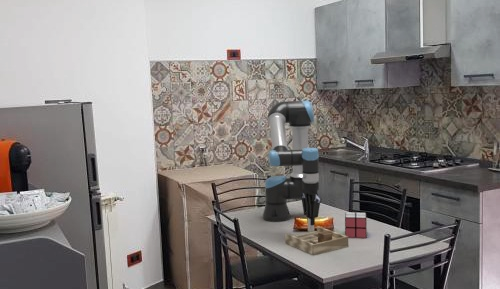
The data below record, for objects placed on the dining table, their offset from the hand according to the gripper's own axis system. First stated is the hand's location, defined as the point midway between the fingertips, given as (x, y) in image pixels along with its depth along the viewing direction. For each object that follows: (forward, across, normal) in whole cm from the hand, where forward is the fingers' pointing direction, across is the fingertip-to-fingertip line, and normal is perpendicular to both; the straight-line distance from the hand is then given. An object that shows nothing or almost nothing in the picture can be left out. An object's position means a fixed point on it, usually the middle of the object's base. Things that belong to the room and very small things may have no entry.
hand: (311, 231), depth 236 cm
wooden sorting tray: (+5, +4, 0) cm, 7 cm away
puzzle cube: (+6, +4, +25) cm, 26 cm away
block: (+3, +10, 0) cm, 11 cm away
